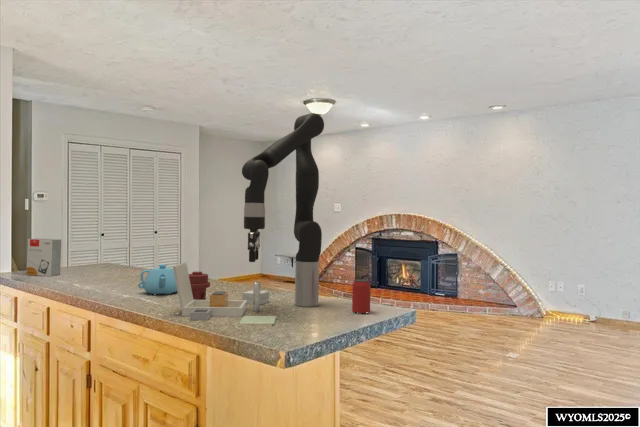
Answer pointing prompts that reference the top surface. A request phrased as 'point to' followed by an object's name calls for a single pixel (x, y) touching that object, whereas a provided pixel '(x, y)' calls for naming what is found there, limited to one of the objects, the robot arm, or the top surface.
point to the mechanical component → (199, 285)
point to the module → (219, 299)
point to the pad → (258, 320)
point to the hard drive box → (43, 257)
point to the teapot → (159, 280)
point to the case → (202, 307)
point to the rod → (256, 296)
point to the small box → (249, 297)
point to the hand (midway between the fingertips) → (253, 260)
